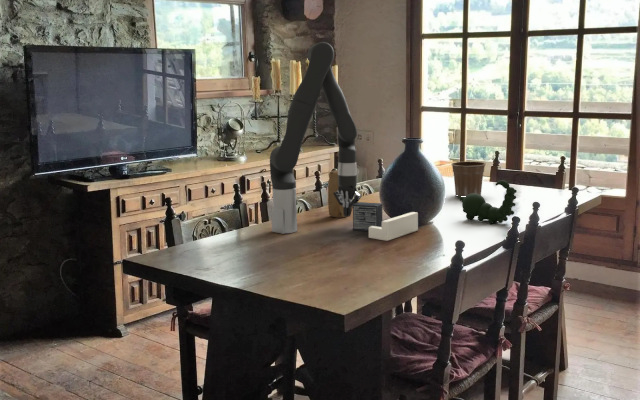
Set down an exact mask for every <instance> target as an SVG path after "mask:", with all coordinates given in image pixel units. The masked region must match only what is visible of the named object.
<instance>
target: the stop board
mask: <svg viewBox="0 0 640 400" xmlns="http://www.w3.org/2000/svg"><path fill="white" fill-rule="evenodd" d="M416 231H419V213H418V212H417V211H416V212H415V211H410V212H407V213H404V214H402V215H398V216H394V217H391V218H388V219H385V220H384V219H383V220H382V227H377V226H371V227H369V231H368V239H369V238H370V239H376V240H381V241H390V240H393V239H396V238H399V237H402V236H405V235H408V234H411V233H415V232H416Z"/></svg>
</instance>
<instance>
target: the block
mask: <svg viewBox="0 0 640 400" xmlns="http://www.w3.org/2000/svg"><path fill="white" fill-rule="evenodd" d="M328 178H329V179H328V180H327V181H328V183H327V185H328V186H327V203H328V214H329V216H330V217H332V218H337V219H340V218H346V216H344V214H343V206H342V205H339V203H338V201H337V199H336V198H335V196H334V194H333V193H334V192H336V191H337V190H338V187H339V185H338V169H336V170H331V171H329V173H328ZM345 199H346V198H345ZM351 213H353V206H352V207H351Z"/></svg>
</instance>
